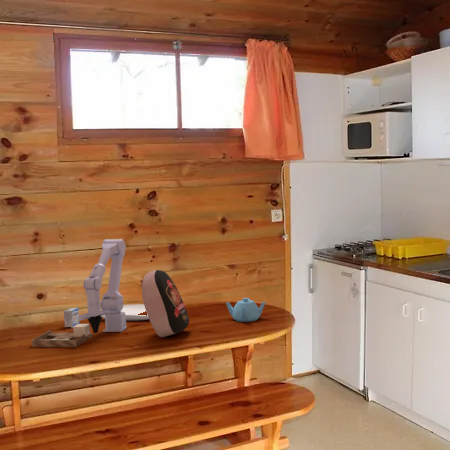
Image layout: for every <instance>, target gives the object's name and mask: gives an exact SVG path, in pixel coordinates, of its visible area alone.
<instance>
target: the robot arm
mask: <svg viewBox="0 0 450 450" xmlns="http://www.w3.org/2000/svg"><path fill="white" fill-rule="evenodd" d="M126 246H127V245H126V243H125V240H124V239H122V238H119V239H108V238H107V239H106V238H105V239H104V240H103V241H102V244H101V250H102V251H101V254H100V256H99V259H98V263H95V264H94V265H93V267H92V270H91V272H90V274H89V276H88V277H86V278H85V279H84V281H83V289H84V290H85V291H84V292H85V294H86V300H87V301H86V303H87V304H86V305H87V312H86V313H84V314H79V321H83V320H87V321H88V323H89V325H90V328H91V329H92V333H94V334H98V333H99V328H100V325H101V322H102V320H103V317H101V316H103V315H105V319H104V323H105V328H104V329H103V330H102V332H104V333H107V332H108V333H109V332H111V333H114V332H115V333H117V332H118V333H120V332H121V333H122V332H123V331H125V330H126V329H127V320H126V315H125V313H124V312H120V311H121V310H122V309H123V305H124V296H123V295H122V294H121V293H120V292H119V291H120V283H121V276H122V275H121V274H122V268H123V267H122V266H123V260H124V257H125V255H126V254H125V253H126V248H127V247H126ZM110 259H111V264H110V271H109V278H108V285H107V291H106V292H105V293H104V294H103V295H102V298H101V296H100V290H101V288H102V287H103V285H102V284H103V283H102V282H103V277H104V275H105V272H106V270H107V269H106V265H107V263H108V262H109V260H110Z"/></svg>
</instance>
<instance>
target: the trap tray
mask: <svg viewBox="0 0 450 450" xmlns="http://www.w3.org/2000/svg"><path fill="white" fill-rule="evenodd" d="M92 337H94V335H93V332H90V334H88V335H87V336H85V334H84V335H82V336H81V337H74V332H53V330H52V329H49V330H48V331H46V332H44V333H42V334H41V335H39V336H37V337H35V338H33V339H31V347H32V348H40V347H41V348H77V347H78V346H80V345H82V344H83V343H85V342H87V341H88V340H90V339H91V338H92Z"/></svg>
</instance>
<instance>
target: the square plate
mask: <svg viewBox="0 0 450 450" xmlns="http://www.w3.org/2000/svg"><path fill="white" fill-rule="evenodd" d="M145 311H146V309H145V306H144V303H143V304H141V303H139V304H138V303H137V304H123V309H122V310H121V311H120V312H124V313H125V315H126V321H146V320H149V317H148V315H147V316H146V315H138V314H140V313H143V312H145ZM101 317H102V319H104V320H105V315H103V316H101Z"/></svg>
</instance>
